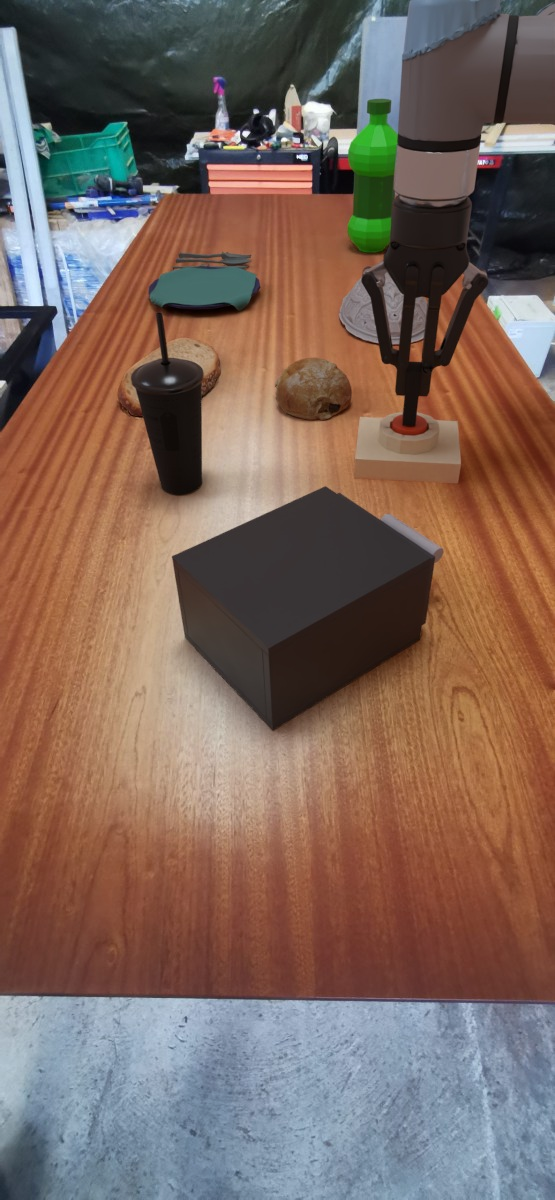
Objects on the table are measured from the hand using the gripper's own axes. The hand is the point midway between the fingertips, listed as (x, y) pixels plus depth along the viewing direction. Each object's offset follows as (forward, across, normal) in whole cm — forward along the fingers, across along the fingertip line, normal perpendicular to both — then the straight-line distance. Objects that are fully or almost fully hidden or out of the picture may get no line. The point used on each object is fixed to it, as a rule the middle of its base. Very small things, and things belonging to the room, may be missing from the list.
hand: (408, 419), depth 86 cm
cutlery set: (+6, +36, -57) cm, 68 cm away
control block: (+5, 0, 0) cm, 5 cm away
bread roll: (+6, +13, -13) cm, 19 cm away
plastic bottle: (+6, +8, -80) cm, 81 cm away
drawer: (+4, +6, +29) cm, 30 cm away
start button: (+2, 0, 0) cm, 2 cm away
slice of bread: (+6, +34, -18) cm, 39 cm away
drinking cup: (+6, +26, +8) cm, 28 cm away
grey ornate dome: (+5, +4, -45) cm, 46 cm away
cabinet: (+5, +9, +32) cm, 34 cm away
